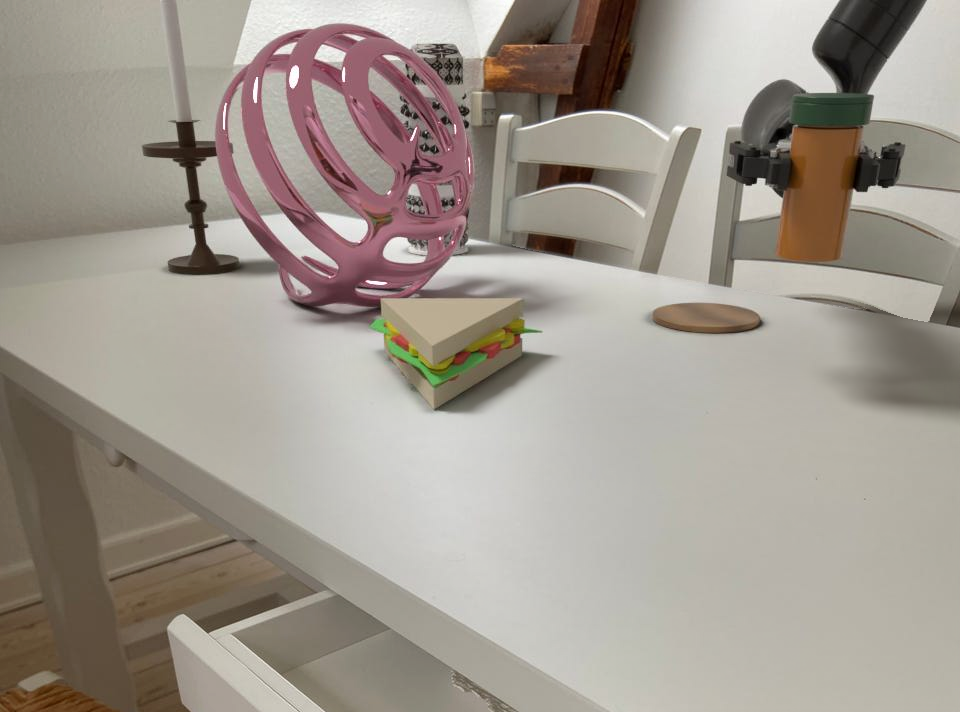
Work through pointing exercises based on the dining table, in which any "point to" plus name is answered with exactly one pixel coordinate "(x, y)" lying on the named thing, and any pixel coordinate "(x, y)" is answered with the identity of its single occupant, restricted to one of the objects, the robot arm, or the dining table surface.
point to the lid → (831, 109)
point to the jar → (818, 192)
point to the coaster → (706, 317)
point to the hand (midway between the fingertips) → (824, 175)
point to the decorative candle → (451, 72)
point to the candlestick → (187, 155)
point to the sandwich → (450, 340)
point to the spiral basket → (384, 137)
